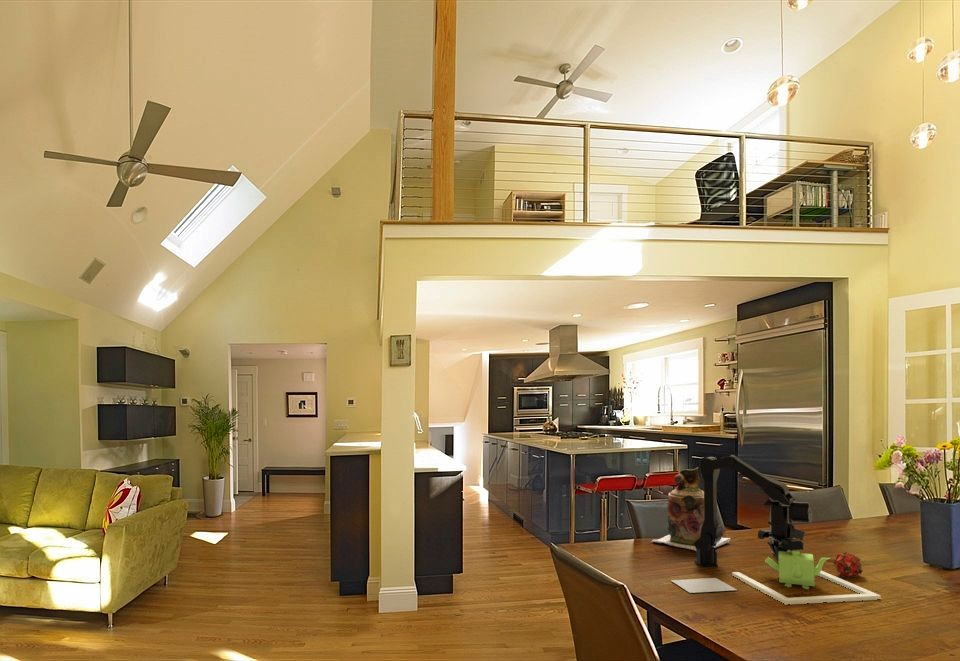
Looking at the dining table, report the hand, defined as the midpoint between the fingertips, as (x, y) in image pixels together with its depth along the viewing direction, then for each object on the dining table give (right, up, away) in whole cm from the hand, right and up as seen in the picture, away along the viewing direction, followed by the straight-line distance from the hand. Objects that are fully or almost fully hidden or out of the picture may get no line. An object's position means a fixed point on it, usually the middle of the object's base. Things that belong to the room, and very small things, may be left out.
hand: (780, 564), depth 234 cm
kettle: (+1, -4, -10) cm, 11 cm away
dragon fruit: (+24, -5, +1) cm, 24 cm away
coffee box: (+14, -7, +29) cm, 33 cm away
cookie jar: (-16, -9, +49) cm, 52 cm away
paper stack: (-34, -4, -16) cm, 38 cm away
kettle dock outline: (+2, -3, -12) cm, 13 cm away
